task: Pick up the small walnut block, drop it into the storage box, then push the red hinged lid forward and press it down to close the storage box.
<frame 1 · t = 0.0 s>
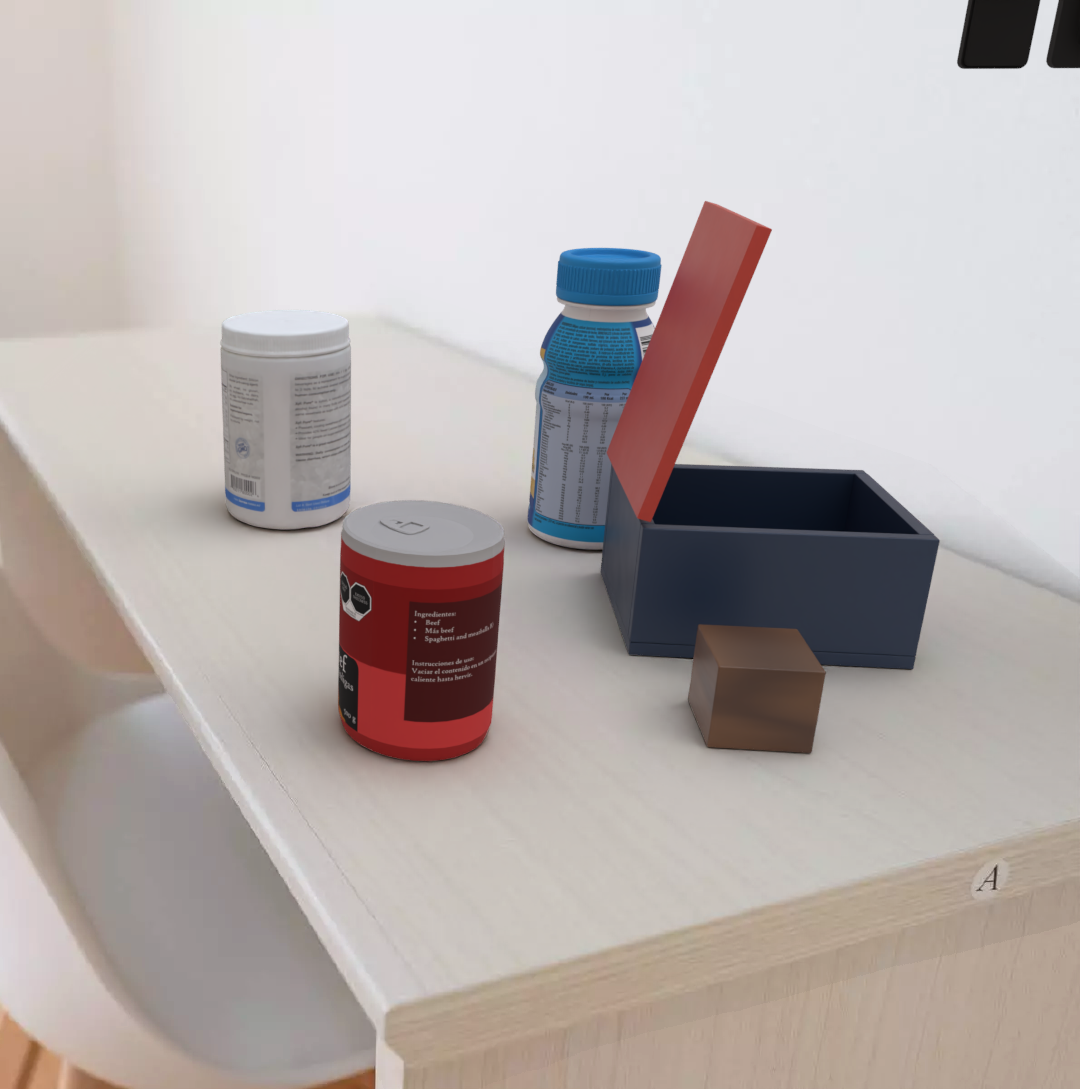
hand: (1034, 68, 58), 31 cm above the table, tool pointing down, fingers open, 9 cm apart
storage box: (742, 616, 76), on the table
canned food: (413, 728, 63), on the table
beverage bottle: (583, 535, 90), on the table
lid: (678, 355, 71), point 16 cm above the table, hinge at 75.0°
supplement tub: (286, 514, 94), on the table
block: (747, 725, 63), on the table
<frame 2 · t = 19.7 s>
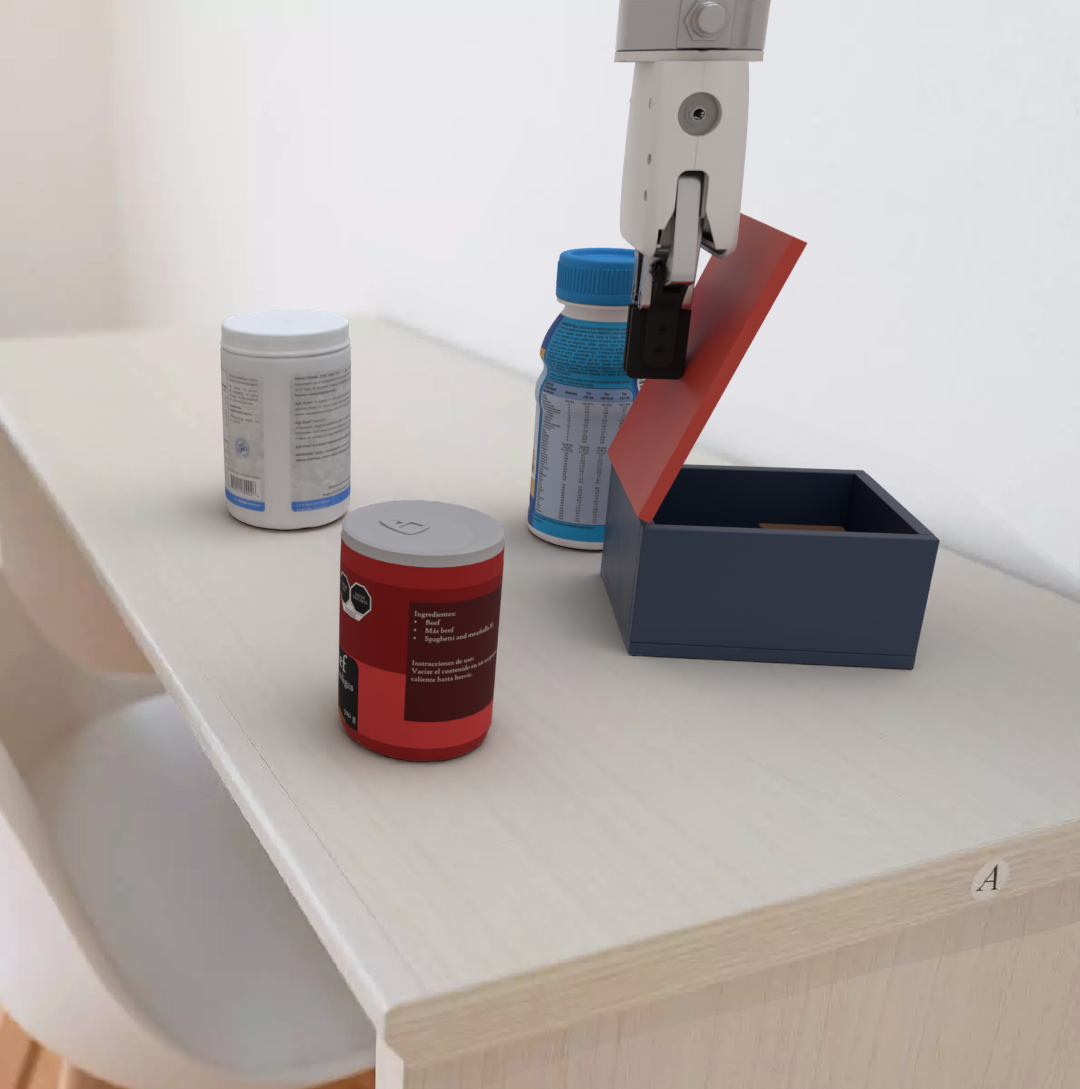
hand: (652, 375, 71), 15 cm above the table, tool pointing down, fingers closed
lid: (694, 360, 71), point 16 cm above the table, hinge at 68.2°, touching gripper
block: (799, 607, 75), point 1 cm above the table, touching storage box
everything else where it was.
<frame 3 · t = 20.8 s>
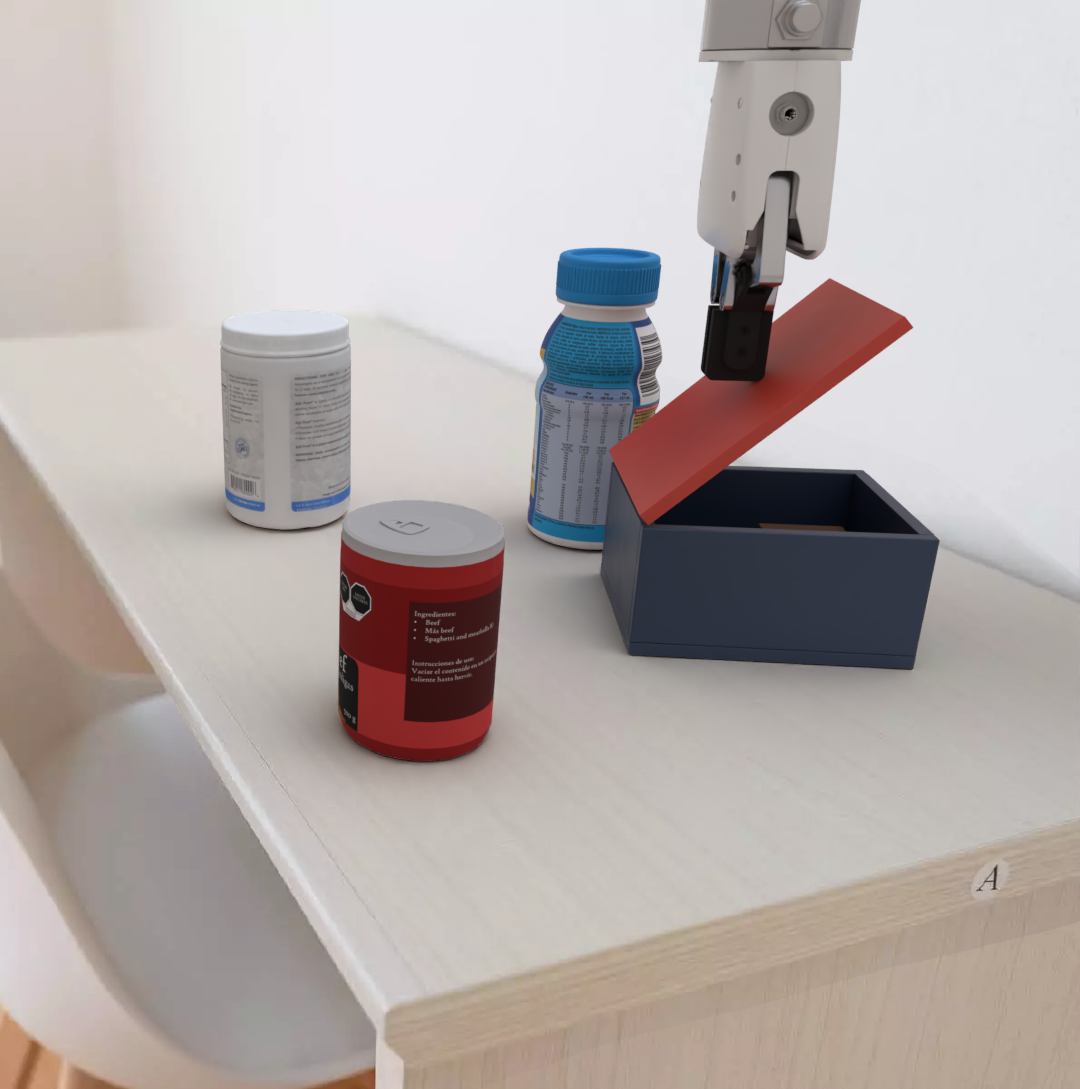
hand: (731, 376, 71), 15 cm above the table, tool pointing down, fingers closed
lid: (742, 396, 71), point 14 cm above the table, hinge at 43.2°, touching gripper
everything else where it was.
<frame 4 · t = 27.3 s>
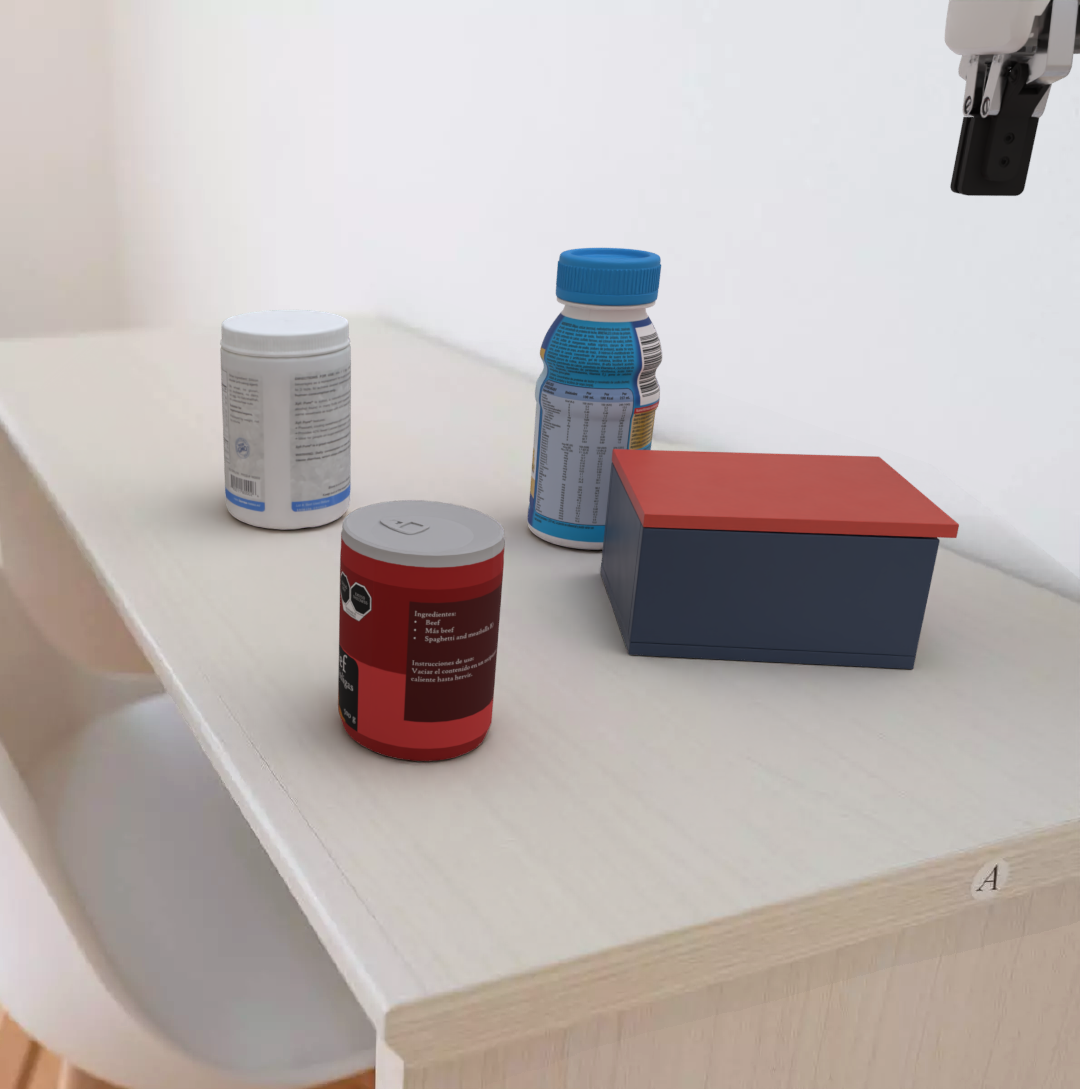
hand: (985, 193, 67), 25 cm above the table, tool pointing down, fingers closed
lid: (769, 489, 73), point 8 cm above the table, hinge at 0.2°
everything else where it was.
at the end: block inside the target area in the storage box (3.3 cm from its centre), point 0.8 cm above the storage box's base; lid at +0° (first picture: +75°) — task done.
